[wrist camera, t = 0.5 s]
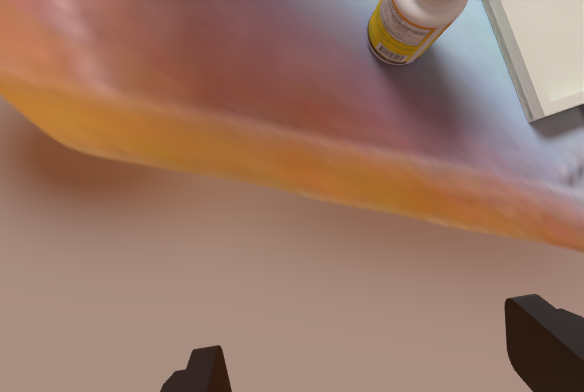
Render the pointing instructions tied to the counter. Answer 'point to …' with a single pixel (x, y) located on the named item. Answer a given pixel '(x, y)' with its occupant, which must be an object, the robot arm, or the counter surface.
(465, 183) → the counter surface
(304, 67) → the counter surface
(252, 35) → the counter surface
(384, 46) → the supplement bottle
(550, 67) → the tray
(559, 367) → the robot arm
